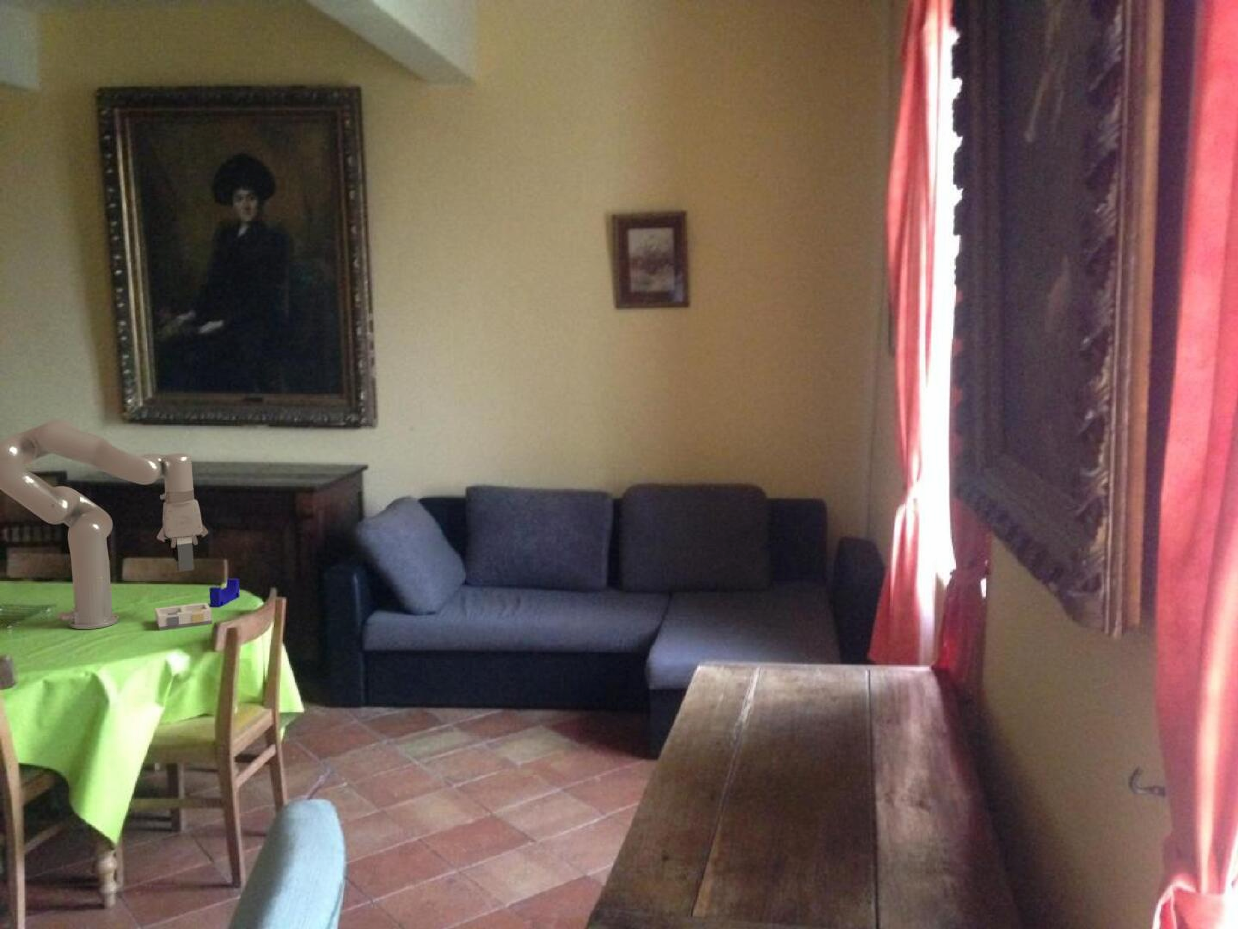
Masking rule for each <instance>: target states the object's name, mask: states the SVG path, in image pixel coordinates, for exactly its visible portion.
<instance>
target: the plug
mask: <svg viewBox="0 0 1238 929" xmlns="http://www.w3.org/2000/svg"><path fill="white" fill-rule="evenodd" d="M176 547H177V549H178V561H176V569H177V571H178V572H179V573H180V572H187V571H195V563H194V562H195V561H194V560H195V559H193V547H192V536H185V537H177V539H176Z"/></svg>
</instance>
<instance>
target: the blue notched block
mask: <svg viewBox="0 0 1238 929" xmlns="http://www.w3.org/2000/svg"><path fill="white" fill-rule="evenodd" d="M226 580H227V582H226V587H224V588H222V587H221V586H220V587H218V586H211V587H209V607H210V608H221V607H223V606H226V605H227V604H229V603H231V602H233V601H234V600H236V599H238V598H240V596H241V595H240V578H231V577H230V578H228V579H226ZM230 601H231V602H230Z"/></svg>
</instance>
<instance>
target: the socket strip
mask: <svg viewBox="0 0 1238 929" xmlns="http://www.w3.org/2000/svg"><path fill="white" fill-rule="evenodd" d="M154 611H155V612H154V613H155V616H154V617H155V624H156V626H157V628H158V631H166V630H167V631H168V630H172V629H173V630H174V629H180V628H188V627H189V628H190V627H197V626H204V625H212V624H213V614H212V612H213V611H212V608H211V607H210V604H208V602H199V603H192V604H191V603H190V604H183V605H182V604H181V605H174V606H173V605H172V606H165V607H157V608H154Z"/></svg>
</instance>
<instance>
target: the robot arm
mask: <svg viewBox="0 0 1238 929" xmlns="http://www.w3.org/2000/svg"><path fill="white" fill-rule="evenodd" d="M51 454H52V455H55V456H59V457H62V458H66V459H69V460H72V461H74V462H75V461H76V462H78V463H82V464H85V465H87V466H91V467H93V468H95V469H97V470H99V471H101V472H104V473H106V474H108V475H110V476H112V477H116V478H118V479H122V480H125V481H128V482H130V483H131V482H132V483H135V484H138V485H150V484H154V483H155V482H156V481H157V480H159V479H162V478H163V480H164V493H163V494H160V495H159V497H160V500H164V502H163V506H162V507H163V508H162V527H161V529H160V531H159V532H158V535H157V536H156V539H157V540H159V541H161V542H163V543H166V544H167V545H168V546H169V547H170V548H171V549H170V550H171V558H172V559H174V560H175V562H177V561H178V549H177V547H176V539H177V537H185V536H192V547H193V560H195V559H196V556H197V555H198V544H199V542H200V541H201V540H202V539H203V538H204V537H205V536H206V535H209V530H208V529H207V528H206V526H205V525H204V524H203V522H202V521H203V520H202V515H201V510H200V505H199V502H198V500H197V499H195V494H194V493H195V490H194V480H193V466H192V458H191V456H190V455H189V454H187V453H170V454H159V453H146V454H143V455H142V456H140V455H136V454H133V453H129V452H127V451H125V450H122V449H120V448H118V447H116V446H114V445H113V444H111V443H110V441H109V440H107V439H106V438H104V437H102V436H100V435H96V434H93V433H91V432H86V431H85V430H80V429H77V428H75V427H74V426H73V425H72V424H71V422H68V421H67V420H63V419H53V420H49V421H48V422H45V423H42V424H40V425H38V426H36V427H34V428H33V427H32V428H30V429H28V430H25V431H21V432H20V433H16V434H14V435H11V436H9V437H7V438H4V439H2V440H0V490H1V491H2V492H3V493H4V494H6V495H8V496H9V497H11V498H12V499H13V500H15V501H16V502H18V504H20V505H21V506H23V507H24V508H26V509H27V510H29V511H30V512H32V513H33V514H34V515H35V516H37V517H38V518H40V519H41V520H43V521H44V522H45V523H47V524H51V525H61V524H65V525H66V526H67V527H69V528H68V531H67V541H68V547H69V552H70V553H69V554H70V561H71V574H72V587H73V588H72V589H73V603H74V607H73V608H72V610H68V612H57V613H56V618H57V621H61V620H62V621H63V622H64V621H69V627H70V628H72V629H77V630H94V629H95V630H96V629H100V628H101V629H102V628H107V627H109V626H113V625H115V624H116V623H118V622H119V620H120V619H119V615H117V614H115V613H113V604H112V603H113V601H112V588H111V584H112V583H111V570H110V560H109V551H108V543H107V537H109V535H110V534H111V532H112V530H113V527H114V526H113V520H112V518H111V516H110V515H109V513H108V512H107V511H105V510H104V509H103V508H102V507H100V506H99V505H97V504H96V503H95V502H93V501H92V500H90V499H89V498H88V497H86V496H85V495H83V494H82V493H80V492H78V491H77V490H76V489H73V488H71V487H68V486H64V485H60V486H59V485H58V486H52V485H50V484H49V483H48V482H46V481H45V480H43V479H42V478H41V477H39V476H38V475H36V474H34V473H32V472H30V471H29V470H27V469H26V468H25V465H26V464H28V463H30V462H33V461H35V460H37V459H40V458H44V457H46V456H48V455H51Z"/></svg>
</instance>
